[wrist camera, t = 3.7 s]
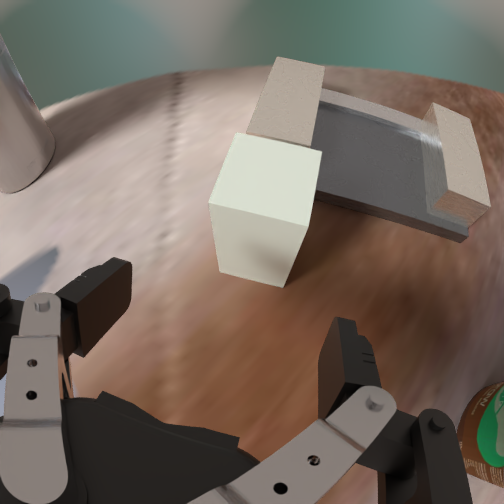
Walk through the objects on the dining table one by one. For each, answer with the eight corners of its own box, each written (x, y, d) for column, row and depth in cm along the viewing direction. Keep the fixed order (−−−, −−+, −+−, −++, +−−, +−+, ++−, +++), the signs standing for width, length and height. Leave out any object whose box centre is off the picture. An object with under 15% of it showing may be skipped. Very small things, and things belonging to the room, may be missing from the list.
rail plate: (242, 182, 28) (242, 140, 23) (274, 90, 34) (278, 52, 28) (460, 243, 27) (492, 216, 22) (447, 143, 32) (467, 113, 27)
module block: (219, 271, 25) (208, 202, 16) (237, 217, 27) (236, 132, 18) (283, 287, 24) (308, 226, 15) (295, 231, 26) (322, 151, 17)
